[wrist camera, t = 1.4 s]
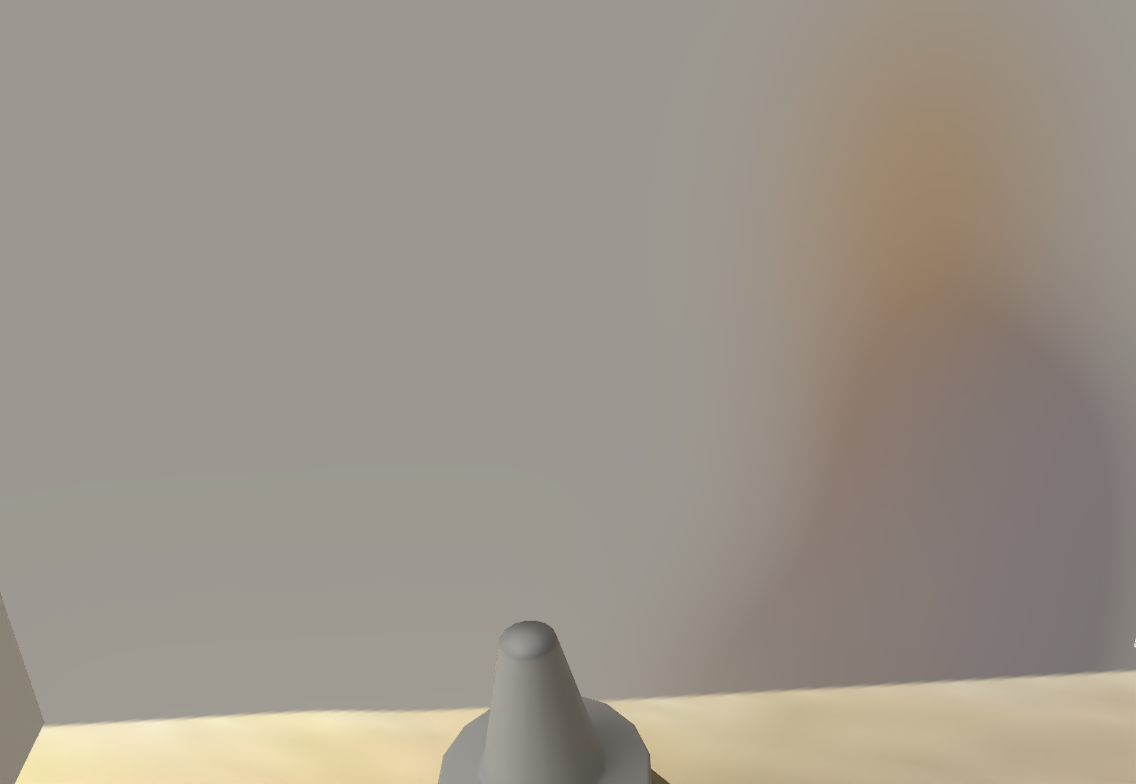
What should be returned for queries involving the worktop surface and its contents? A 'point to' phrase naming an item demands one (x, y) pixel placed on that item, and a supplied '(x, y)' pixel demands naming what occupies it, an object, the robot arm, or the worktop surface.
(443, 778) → the squeeze bottle
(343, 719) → the worktop surface
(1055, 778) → the worktop surface
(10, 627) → the robot arm
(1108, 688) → the worktop surface
